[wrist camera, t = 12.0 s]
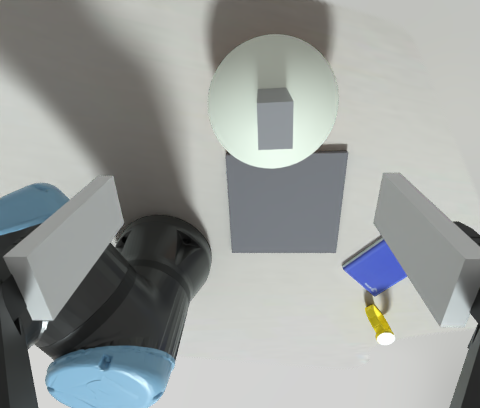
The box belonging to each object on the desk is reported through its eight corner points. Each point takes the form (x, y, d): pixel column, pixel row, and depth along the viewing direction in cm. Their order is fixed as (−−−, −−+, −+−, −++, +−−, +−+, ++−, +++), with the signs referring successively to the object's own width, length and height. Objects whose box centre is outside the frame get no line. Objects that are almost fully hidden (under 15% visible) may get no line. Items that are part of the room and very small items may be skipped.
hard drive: (375, 297, 52) (444, 254, 47) (343, 270, 49) (412, 221, 45) (372, 291, 53) (439, 248, 48) (341, 263, 51) (408, 216, 46)
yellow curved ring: (358, 303, 54) (367, 330, 49) (372, 296, 53) (383, 322, 48) (376, 325, 56) (387, 353, 50) (390, 318, 55) (403, 346, 50)
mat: (334, 249, 49) (335, 252, 48) (232, 249, 50) (232, 252, 49) (346, 150, 42) (348, 152, 41) (226, 153, 43) (225, 155, 42)
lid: (331, 164, 37) (351, 198, 29) (215, 168, 38) (203, 202, 30) (342, 29, 31) (371, 26, 23) (201, 38, 32) (182, 39, 24)
